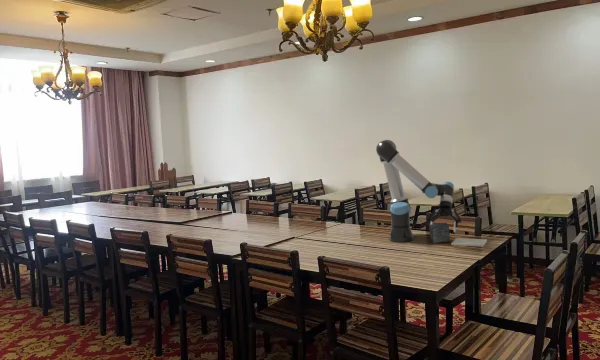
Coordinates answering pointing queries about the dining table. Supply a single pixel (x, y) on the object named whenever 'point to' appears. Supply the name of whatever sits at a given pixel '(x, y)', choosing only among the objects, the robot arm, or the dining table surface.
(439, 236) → the small box
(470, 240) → the mat
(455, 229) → the robot arm
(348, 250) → the dining table surface
